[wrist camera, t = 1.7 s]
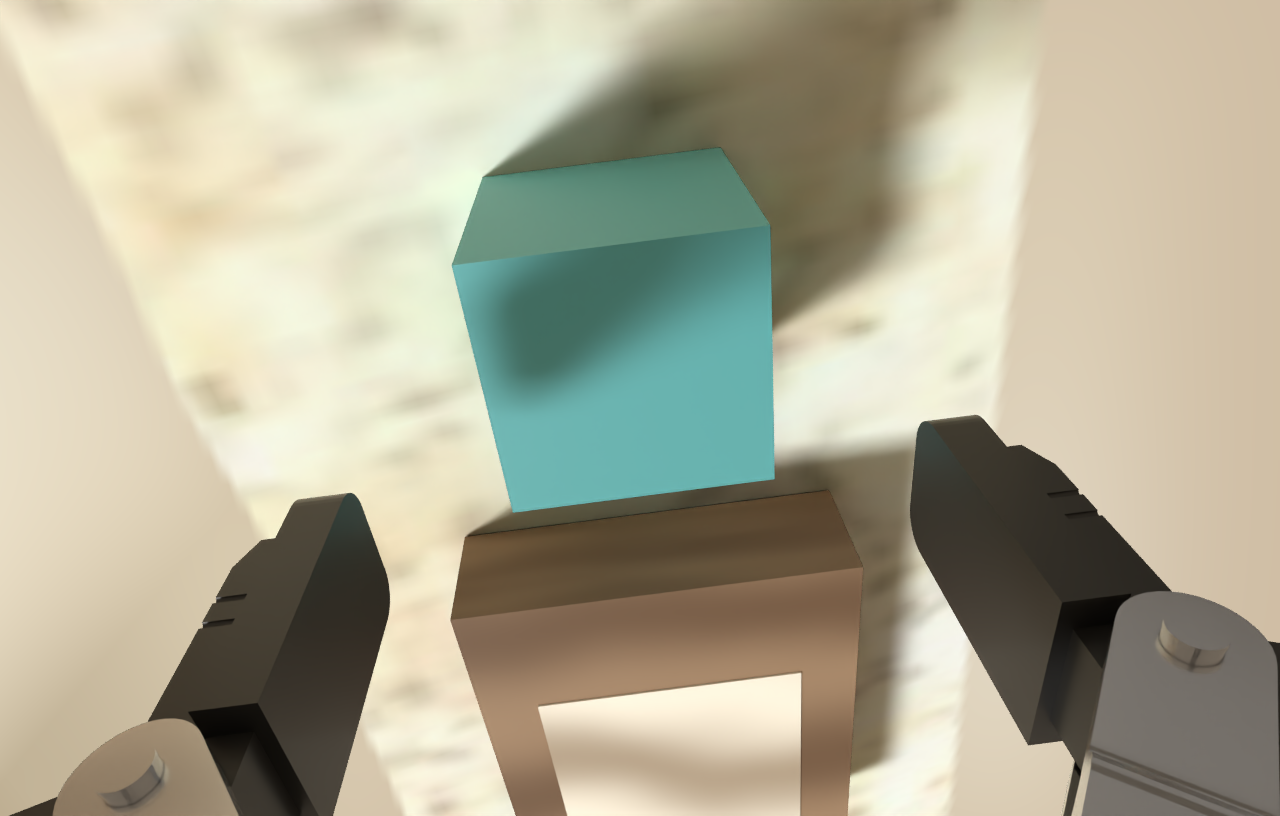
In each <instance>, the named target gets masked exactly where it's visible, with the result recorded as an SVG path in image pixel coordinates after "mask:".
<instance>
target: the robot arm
mask: <svg viewBox="0 0 1280 816" xmlns="http://www.w3.org/2000/svg"><path fill="white" fill-rule="evenodd" d="M910 518H911V526H912V531H913V535H914V539H915V542H916V545H917V547H918V549H919V551H920V553H921V555H922V557H923V559H924V560H925V562H926V564H927V566H928V568H929V569H930V571H931V573H932V575H933V577H934V578H935V580H936V582H937V584H938V585H939V587H940V589H941V591H942V593H943V594H944V596H945V598H946V600H947V601H948V603H949V605H950V607H951V609H952V610H953V612H954V614H955V616H956V618H957V619H958V621H959V623H960V625H961V626H962V628H963V630H964V632H965V634H966V635H967V637H968V639H969V641H970V642H971V644H972V646H973V648H974V649H975V651H976V653H977V655H978V657H979V658H980V660H981V662H982V664H983V666H984V667H985V669H986V670H987V673H988V674H989V676H990V678H991V680H992V682H993V683H994V685H995V687H996V689H997V690H998V692H999V694H1000V696H1001V698H1002V699H1003V701H1004V703H1005V705H1006V707H1007V708H1008V710H1009V712H1010V714H1011V715H1012V717H1013V719H1014V721H1015V722H1016V724H1017V726H1018V728H1019V730H1020V732H1021V733H1022V735H1023V737H1024V739H1025V740H1026V742H1027V744H1028V745H1034V744H1042V743H1049V742H1057V741H1063V742H1064V743H1065V745H1066V747H1067V749H1068V750H1069V752H1070V754H1071V755H1072V757H1073V758H1074V762H1073V765H1072V769H1071V773H1070V777H1069V781H1068V786H1067V791H1066V795H1065V800H1064V805H1063V810H1062V814H1061V816H1280V643H1276V642H1269V641H1267V639H1266V638H1265V637H1264V636H1263V635H1262V633H1261V632H1260V631H1259V630H1258V629H1257V628H1256V627H1254V626H1253V625H1252V624H1251V623H1249V622H1248V621H1247V620H1246V619H1244V618H1243V617H1241V616H1240V615H1238V614H1237V613H1235V612H1233V611H1231V610H1230V609H1228V608H1226V607H1224V606H1222V605H1219V604H1217V603H1215V602H1212V601H1210V600H1207V599H1204V598H1201V597H1198V596H1194V595H1189V594H1185V593H1179V592H1172V591H1171V590H1170V589H1169V588H1168V587H1167V586H1166V584H1165V583H1164V582H1163V581H1162V580H1161V579H1160V578H1159V577H1158V576H1157V575H1156V574H1155V572H1154V571H1153V570H1152V569H1151V568H1150V567H1149V566H1148V565H1147V564H1146V563H1145V562H1144V560H1143V559H1142V558H1141V557H1140V556H1139V555H1138V554H1137V553H1136V552H1135V551H1134V550H1133V548H1132V547H1131V546H1130V545H1129V544H1128V543H1127V542H1126V541H1125V540H1124V539H1123V538H1122V537H1121V535H1120V534H1119V533H1118V532H1117V531H1116V530H1115V529H1114V528H1113V527H1112V525H1111V524H1110V523H1109V522H1108V521H1107V520H1106V519H1105V518H1104V517H1103V516H1102V515H1101V516H1099V515H1098V513H1097V509H1096V508H1095V507H1094V506H1093V505H1092V504H1091V503H1090V501H1089V500H1088V499H1087V498H1086V497H1085V496H1084V495H1083V494H1082V495H1080V494H1079V492H1078V488H1077V487H1076V486H1075V485H1074V484H1073V483H1072V482H1071V481H1070V480H1069V478H1068V477H1067V476H1066V475H1065V474H1064V473H1063V472H1062V471H1061V470H1060V469H1059V468H1058V467H1057V466H1056V464H1054V463H1052V462H1051V461H1049V460H1047V459H1045V458H1043V457H1042V456H1040V455H1038V454H1036V453H1035V452H1033V451H1031V450H1029V449H1028V448H1026V447H1024V446H1022V445H1017V446H1009V447H1007V446H1006V445H1005V444H1004V443H1003V442H1002V440H1001V439H1000V438H999V437H998V436H997V435H996V433H995V432H994V431H993V430H992V429H991V428H990V426H989V425H988V424H987V423H986V422H985V420H984V419H983V418H981V417H980V416H978V415H971V416H963V417H956V418H948V419H940V420H932V421H924V422H922V423H921V424H920V426H919V428H918V432H917V438H916V449H915V460H914V470H913V481H912V492H911V503H910ZM389 608H390V591H389V583H388V578H387V574H386V571H385V568H384V566H383V563H382V560H381V557H380V555H379V552H378V549H377V546H376V544H375V541H374V538H373V535H372V533H371V530H370V527H369V525H368V522H367V519H366V516H365V514H364V511H363V508H362V506H361V503H360V501H359V499H358V498H357V497H356V496H355V495H354V494H352V493H346V494H339V495H331V496H323V497H315V498H307V499H299V500H297V501H295V502H294V503H293V505H292V506H291V508H290V510H289V512H288V514H287V516H286V518H285V520H284V522H283V524H282V526H281V528H280V530H279V532H278V534H277V536H276V538H274V539H267V540H261V541H260V542H259V543H258V544H257V545H256V546H255V547H254V548H253V549H252V550H250V551H249V552H248V553H247V554H246V555H245V556H244V557H243V558H242V559H241V560H240V561H239V562H238V563H237V564H236V565H235V566H234V567H233V568H232V569H231V571H230V573H229V575H228V577H227V578H226V580H225V582H224V584H223V586H222V587H221V589H220V591H219V593H218V595H217V596H216V603H214V604H212V606H211V607H210V609H209V611H208V613H207V615H206V617H205V618H204V620H203V622H202V623H203V628H202V629H198V631H197V633H196V635H195V637H194V638H193V640H192V642H191V644H190V646H189V648H188V649H187V651H186V653H185V655H184V657H183V659H182V660H181V662H180V664H179V666H178V668H177V669H176V671H175V673H174V675H173V677H172V679H171V680H170V682H169V684H168V686H167V688H166V689H165V691H164V693H163V695H162V697H161V698H160V700H159V702H158V704H157V706H156V708H155V709H154V711H153V713H152V715H151V717H150V718H149V720H148V722H146V723H143V724H140V725H138V726H135V727H133V728H130V729H128V730H126V731H124V732H122V733H120V734H118V735H117V736H115V737H113V738H112V739H110V740H109V741H107V742H105V743H104V744H103V745H101V746H100V747H99V748H97V749H96V750H95V751H94V752H92V753H91V754H90V755H89V756H88V757H87V758H86V759H85V760H84V761H82V763H81V764H80V765H79V766H78V767H77V768H76V769H75V770H74V771H73V773H72V774H71V775H70V777H69V778H68V779H67V781H66V782H65V784H64V785H63V787H62V789H61V791H60V793H59V795H58V797H56V798H54V799H51V800H48V801H46V802H43V803H41V804H38V805H35V806H33V807H31V808H28V809H25V810H23V811H20V812H18V813H15V814H12V815H10V816H333V813H334V809H335V806H336V803H337V799H338V795H339V792H340V788H341V785H342V781H343V777H344V774H345V770H346V767H347V763H348V760H349V756H350V753H351V749H352V745H353V742H354V738H355V735H356V731H357V727H358V724H359V720H360V717H361V713H362V709H363V706H364V702H365V699H366V695H367V692H368V688H369V684H370V681H371V677H372V674H373V670H374V666H375V663H376V659H377V656H378V652H379V648H380V645H381V641H382V638H383V634H384V630H385V627H386V623H387V620H388V615H389Z"/></svg>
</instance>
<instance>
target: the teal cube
mask: <svg viewBox="0 0 1280 816" xmlns="http://www.w3.org/2000/svg"><path fill="white" fill-rule="evenodd" d="M452 268H453V272H454V276H455V281H456V285H457V289H458V293H459V297H460V301H461V305H462V309H463V313H464V317H465V321H466V325H467V329H468V333H469V337H470V341H471V345H472V349H473V353H474V357H475V361H476V365H477V369H478V373H479V377H480V381H481V385H482V389H483V394H484V398H485V402H486V406H487V410H488V414H489V418H490V422H491V426H492V430H493V434H494V438H495V442H496V446H497V450H498V454H499V458H500V462H501V466H502V470H503V474H504V478H505V482H506V486H507V490H508V494H509V498H510V502H511V507H512V511H513V513H514V512H522V511H530V510H538V509H545V508H553V507H561V506H569V505H577V504H585V503H592V502H600V501H608V500H616V499H624V498H631V497H639V496H647V495H655V494H663V493H670V492H678V491H686V490H694V489H702V488H709V487H717V486H725V485H733V484H741V483H749V482H756V481H764V480H772V479H775V473H774V412H773V352H772V291H771V231H770V224H769V222H768V221H767V219H766V218H765V216H764V214H763V213H762V211H761V210H760V208H759V207H758V205H757V204H756V202H755V200H754V199H753V197H752V196H751V194H750V193H749V191H748V189H747V188H746V186H745V185H744V183H743V182H742V180H741V179H740V177H739V175H738V174H737V172H736V171H735V169H734V168H733V166H732V164H731V163H730V161H729V160H728V158H727V157H726V155H725V154H724V152H723V150H722V149H721V147H718V148H710V149H702V150H695V151H687V152H679V153H671V154H663V155H655V156H647V157H639V158H631V159H623V160H615V161H607V162H599V163H591V164H583V165H575V166H567V167H559V168H551V169H543V170H535V171H528V172H520V173H512V174H504V175H496V176H488V177H483V178H482V181H481V184H480V186H479V189H478V192H477V195H476V198H475V201H474V204H473V206H472V209H471V212H470V215H469V218H468V221H467V223H466V226H465V229H464V232H463V235H462V238H461V241H460V243H459V246H458V249H457V252H456V255H455V258H454V261H453V263H452Z"/></svg>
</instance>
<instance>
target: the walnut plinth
mask: <svg viewBox="0 0 1280 816" xmlns="http://www.w3.org/2000/svg"><path fill="white" fill-rule="evenodd" d="M862 579H863V565H862V563H861V561H860V559H859V556H858V554H857V552H856V550H855V547H854V545H853V543H852V541H851V538H850V536H849V534H848V532H847V529H846V527H845V525H844V523H843V521H842V518H841V516H840V514H839V512H838V509H837V507H836V505H835V503H834V500H833V498H832V496H831V494H830V491H829V490H827V491H819V492H811V493H804V494H796V495H788V496H780V497H772V498H765V499H757V500H749V501H741V502H733V503H726V504H718V505H710V506H702V507H694V508H686V509H679V510H671V511H663V512H655V513H647V514H640V515H632V516H624V517H616V518H608V519H601V520H593V521H585V522H577V523H569V524H562V525H554V526H546V527H538V528H530V529H522V530H515V531H507V532H499V533H491V534H483V535H476V536H468V537H465V540H464V546H463V552H462V557H461V563H460V569H459V574H458V580H457V586H456V591H455V597H454V603H453V608H452V614H451V623H452V626H453V629H454V632H455V635H456V638H457V641H458V644H459V647H460V650H461V653H462V656H463V659H464V662H465V665H466V668H467V671H468V674H469V677H470V680H471V683H472V686H473V689H474V692H475V695H476V698H477V701H478V704H479V707H480V710H481V713H482V716H483V719H484V722H485V725H486V728H487V731H488V734H489V737H490V740H491V743H492V746H493V749H494V752H495V755H496V758H497V761H498V764H499V767H500V770H501V773H502V776H503V779H504V782H505V785H506V788H507V791H508V794H509V797H510V800H511V803H512V806H513V809H514V812H515V815H516V816H847V815H848V799H849V783H850V768H851V752H852V736H853V721H854V705H855V689H856V673H857V658H858V642H859V626H860V611H861V595H862Z"/></svg>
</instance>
